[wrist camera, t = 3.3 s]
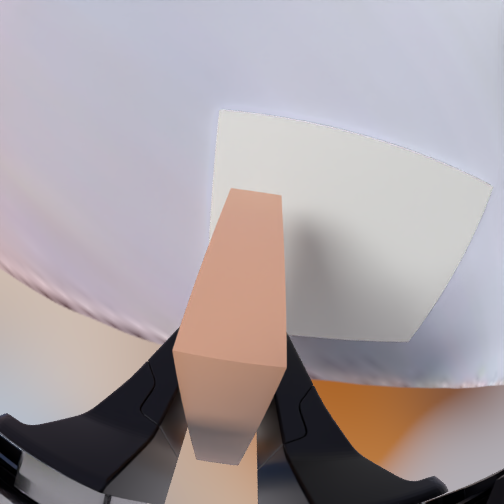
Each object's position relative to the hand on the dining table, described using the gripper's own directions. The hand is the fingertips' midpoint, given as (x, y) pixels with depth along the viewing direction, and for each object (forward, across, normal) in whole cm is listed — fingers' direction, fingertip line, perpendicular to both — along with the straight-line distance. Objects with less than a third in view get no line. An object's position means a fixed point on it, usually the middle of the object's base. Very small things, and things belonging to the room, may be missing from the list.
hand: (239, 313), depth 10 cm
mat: (+5, -5, 0) cm, 7 cm away
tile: (+1, 0, 0) cm, 1 cm away
